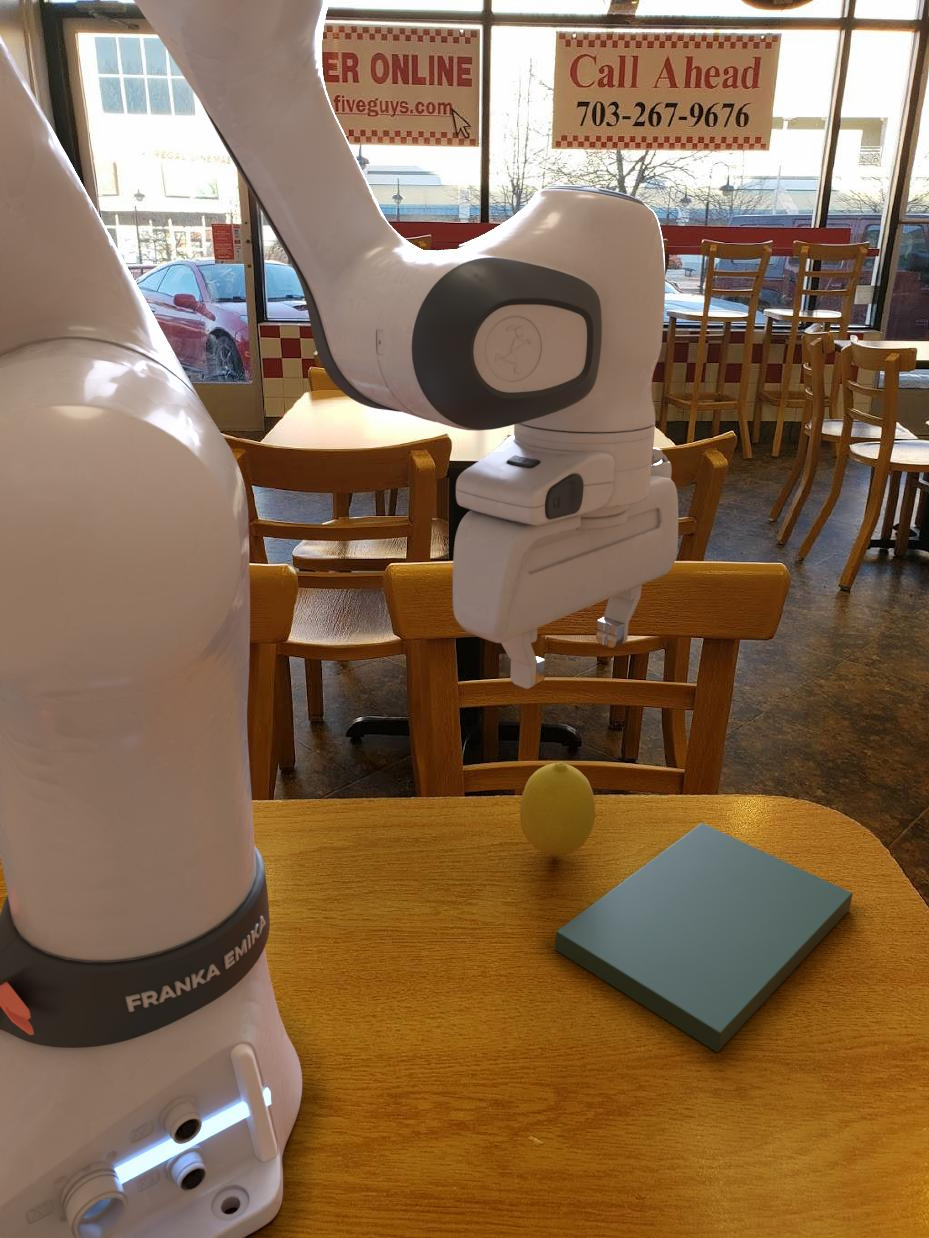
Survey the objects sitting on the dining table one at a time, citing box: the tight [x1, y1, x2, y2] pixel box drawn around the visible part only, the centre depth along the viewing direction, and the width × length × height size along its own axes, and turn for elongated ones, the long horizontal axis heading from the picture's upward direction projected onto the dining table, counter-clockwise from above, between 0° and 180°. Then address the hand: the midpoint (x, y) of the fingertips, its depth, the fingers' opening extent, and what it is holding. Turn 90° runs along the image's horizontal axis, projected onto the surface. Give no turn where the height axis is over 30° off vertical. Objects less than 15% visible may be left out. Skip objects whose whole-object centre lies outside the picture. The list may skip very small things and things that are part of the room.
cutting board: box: [554, 822, 853, 1053], centre depth 63 cm, size 18×12×2 cm, turn 136°
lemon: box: [519, 761, 596, 858], centre depth 70 cm, size 6×6×8 cm
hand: (571, 662), depth 65 cm, fingers open, 8 cm apart
